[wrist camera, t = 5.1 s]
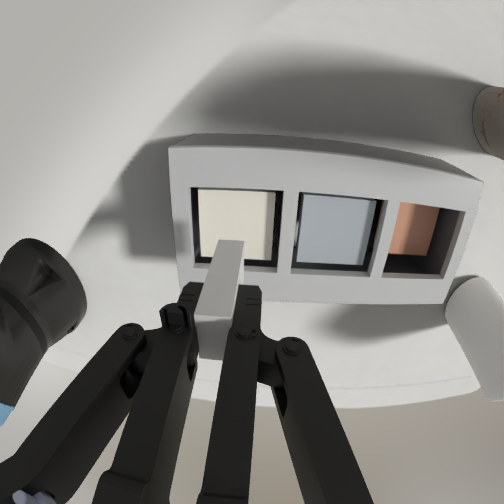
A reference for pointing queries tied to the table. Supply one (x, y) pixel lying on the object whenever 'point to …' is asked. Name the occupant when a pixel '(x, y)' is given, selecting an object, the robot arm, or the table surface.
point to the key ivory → (237, 219)
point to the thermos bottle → (490, 120)
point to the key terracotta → (412, 229)
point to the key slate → (334, 228)
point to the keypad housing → (327, 182)
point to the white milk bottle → (480, 332)
